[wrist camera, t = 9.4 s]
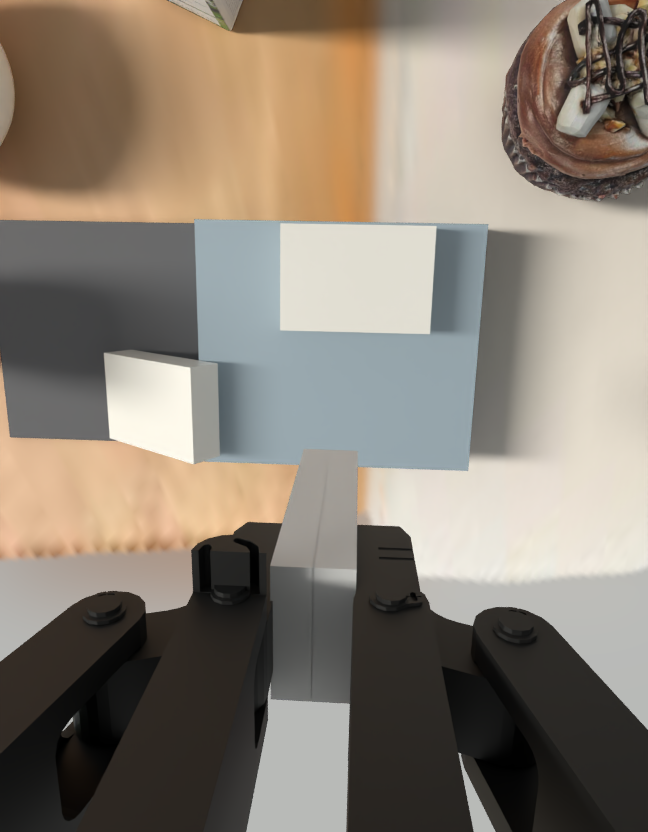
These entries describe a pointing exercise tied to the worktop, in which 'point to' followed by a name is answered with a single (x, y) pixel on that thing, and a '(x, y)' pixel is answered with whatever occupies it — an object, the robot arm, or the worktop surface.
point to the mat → (87, 315)
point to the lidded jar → (5, 95)
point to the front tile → (356, 278)
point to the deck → (337, 358)
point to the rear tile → (163, 404)
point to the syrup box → (213, 10)
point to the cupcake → (581, 100)
